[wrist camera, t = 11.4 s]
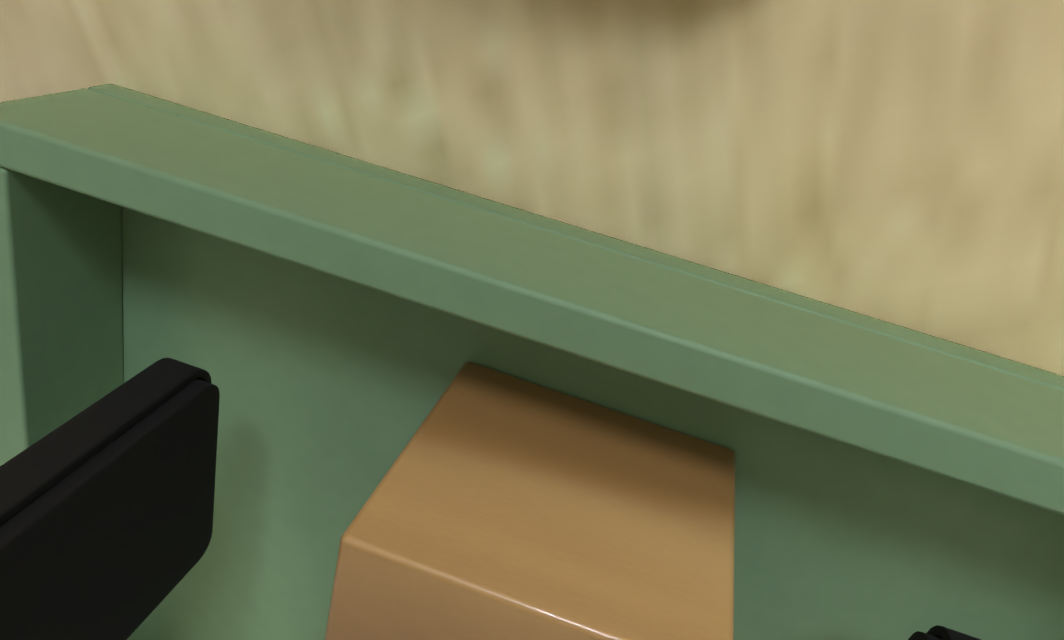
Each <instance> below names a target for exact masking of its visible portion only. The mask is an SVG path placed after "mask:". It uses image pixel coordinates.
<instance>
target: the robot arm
mask: <svg viewBox="0 0 1064 640" xmlns="http://www.w3.org/2000/svg"><path fill="white" fill-rule="evenodd" d="M219 399H220V393H219V389H218V387H217V386H216V385H214V384H212V383H211V376H210V374H209V372H207V371H206V370H204V369H201V368H198V367H195V366H192V365H189V364H187V363H184V362H181V361H178V360H175V359H172V358H162V359H160V360H158V361H156V362H155V363H153V364H152V365H150V366H149V367H147V368H146V369H144V370H143V371H141V372H140V373H138V374H137V375H135V376H134V377H132V378H131V379H129V380H128V381H127V382H125V383H124V384H122V385H121V386H119V387H118V388H116V389H115V390H113V391H112V392H110V393H109V394H107V395H106V396H104V397H103V398H101V399H100V400H98V401H97V402H95V403H94V404H92V405H91V406H89V407H88V408H86V409H85V410H83V411H82V412H80V413H79V414H77V415H76V416H74V417H73V418H71V419H70V420H68V421H67V422H65V423H64V424H62V425H61V426H59V427H58V428H56V429H55V430H54V431H52V432H51V433H49V434H48V435H46V436H45V437H43V438H42V439H40V440H39V441H37V442H36V443H34V444H33V445H31V446H30V447H28V448H27V449H25V450H24V451H22V452H21V453H19V454H18V455H16V456H15V457H13V458H12V459H10V460H9V461H7V462H6V463H4V464H3V465H1V466H0V640H127V639H128V638H129V637H130V636H131V635H132V633H133V632H134V631H135V630H136V629H137V628H138V627H139V626H140V625H141V624H142V623H143V621H144V620H145V619H146V618H147V617H148V616H149V615H150V614H151V613H152V612H153V610H154V609H155V608H156V607H157V606H158V605H159V604H160V603H161V602H162V601H163V600H164V598H165V597H166V596H167V595H168V594H169V593H170V592H171V591H172V590H173V589H174V587H175V586H176V585H177V584H178V583H179V582H180V581H181V580H182V579H183V578H184V577H185V575H186V574H187V573H188V572H189V571H190V570H191V569H192V568H193V567H194V566H195V564H196V563H197V562H198V561H199V560H200V559H201V557H202V556H203V555H204V553H205V551H206V550H207V548H208V545H209V543H210V540H211V537H212V530H213V512H214V493H215V474H216V455H217V437H218V418H219ZM908 640H981V639H978V638H975V637H972V636H969V635H966V634H964V633H961V632H958V631H955V630H952V629H949V628H946V627H943V626H938V625H936V626H934V627H932V628H930V629H929V631H928V632H927V633H924V632H920V631H917V632H915V633H913V634H912V635H911V637H910V638H909V639H908Z"/></svg>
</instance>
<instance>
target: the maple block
mask: <svg viewBox="0 0 1064 640" xmlns="http://www.w3.org/2000/svg"><path fill="white" fill-rule="evenodd" d="M734 550H735V452H734V451H733V450H731V449H728V448H725V447H722V446H719V445H716V444H713V443H710V442H707V441H704V440H702V439H699V438H696V437H693V436H690V435H687V434H684V433H681V432H678V431H675V430H672V429H669V428H666V427H663V426H660V425H657V424H654V423H651V422H648V421H645V420H642V419H639V418H636V417H633V416H630V415H627V414H624V413H621V412H618V411H615V410H612V409H609V408H606V407H603V406H600V405H597V404H594V403H591V402H588V401H585V400H582V399H579V398H576V397H573V396H570V395H567V394H564V393H561V392H558V391H555V390H552V389H549V388H546V387H543V386H540V385H537V384H534V383H531V382H528V381H525V380H522V379H519V378H516V377H514V376H511V375H508V374H505V373H502V372H499V371H496V370H493V369H490V368H487V367H484V366H481V365H478V364H475V363H472V362H466V363H465V364H464V365H463V366H462V368H461V369H460V371H459V372H458V373H457V375H456V376H455V378H454V379H453V380H452V382H451V383H450V385H449V386H448V387H447V389H446V390H445V392H444V393H443V394H442V396H441V397H440V399H439V400H438V402H437V403H436V404H435V406H434V407H433V409H432V410H431V411H430V413H429V414H428V416H427V417H426V418H425V420H424V421H423V423H422V424H421V425H420V427H419V428H418V430H417V431H416V432H415V434H414V435H413V437H412V438H411V439H410V441H409V442H408V444H407V445H406V446H405V448H404V449H403V451H402V452H401V453H400V455H399V456H398V458H397V459H396V460H395V462H394V463H393V465H392V466H391V468H390V469H389V470H388V472H387V473H386V475H385V476H384V477H383V479H382V480H381V482H380V483H379V484H378V486H377V487H376V489H375V490H374V491H373V493H372V494H371V496H370V497H369V498H368V500H367V501H366V503H365V504H364V505H363V507H362V508H361V510H360V511H359V512H358V514H357V515H356V517H355V518H354V519H353V521H352V522H351V524H350V525H349V526H348V528H347V529H346V531H345V532H344V534H343V535H342V536H341V539H340V546H339V552H338V558H337V565H336V571H335V577H334V584H333V590H332V596H331V603H330V609H329V615H328V622H327V628H326V634H325V640H734Z"/></svg>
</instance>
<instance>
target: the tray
mask: <svg viewBox="0 0 1064 640" xmlns="http://www.w3.org/2000/svg"><path fill="white" fill-rule="evenodd" d="M162 358H172V359H175V360H178V361H181V362H184V363H187V364H189V365H192V366H195V367H198V368H201V369H204V370H206V371H207V372H209V374H210V376H211V383H212V384H214V385H216V386H217V387H218V389H219V393H220V399H219V418H218V437H217V455H216V474H215V493H214V512H213V530H212V537H211V540H210V543H209V545H208V548H207V550H206V551H205V553H204V555H203V556H202V557H201V559H200V560H199V561H198V562H197V563H196V564H195V566H194V567H193V568H192V569H191V570H190V571H189V572H188V573H187V574H186V575H185V577H184V578H183V579H182V580H181V581H180V582H179V583H178V584H177V585H176V586H175V587H174V589H173V590H172V591H171V592H170V593H169V594H168V595H167V596H166V597H165V598H164V600H163V601H162V602H161V603H160V604H159V605H158V606H157V607H156V608H155V609H154V610H153V612H152V613H151V614H150V615H149V616H148V617H147V618H146V619H145V620H144V621H143V623H142V624H141V625H140V626H139V627H138V628H137V629H136V630H135V631H134V632H133V633H132V635H131V636H130V637H129V638H128V639H127V640H325V634H326V628H327V622H328V615H329V609H330V603H331V596H332V590H333V584H334V577H335V571H336V565H337V558H338V552H339V546H340V539H341V536H342V535H343V534H344V532H345V531H346V529H347V528H348V526H349V525H350V524H351V522H352V521H353V519H354V518H355V517H356V515H357V514H358V512H359V511H360V510H361V508H362V507H363V505H364V504H365V503H366V501H367V500H368V498H369V497H370V496H371V494H372V493H373V491H374V490H375V489H376V487H377V486H378V484H379V483H380V482H381V480H382V479H383V477H384V476H385V475H386V473H387V472H388V470H389V469H390V468H391V466H392V465H393V463H394V462H395V460H396V459H397V458H398V456H399V455H400V453H401V452H402V451H403V449H404V448H405V446H406V445H407V444H408V442H409V441H410V439H411V438H412V437H413V435H414V434H415V432H416V431H417V430H418V428H419V427H420V425H421V424H422V423H423V421H424V420H425V418H426V417H427V416H428V414H429V413H430V411H431V410H432V409H433V407H434V406H435V404H436V403H437V402H438V400H439V399H440V397H441V396H442V394H443V393H444V392H445V390H446V389H447V387H448V386H449V385H450V383H451V382H452V380H453V379H454V378H455V376H456V375H457V373H458V372H459V371H460V369H461V368H462V366H463V365H464V364H465V363H466V362H472V363H475V364H478V365H481V366H484V367H487V368H490V369H493V370H496V371H499V372H502V373H505V374H508V375H511V376H514V377H516V378H519V379H522V380H525V381H528V382H531V383H534V384H537V385H540V386H543V387H546V388H549V389H552V390H555V391H558V392H561V393H564V394H567V395H570V396H573V397H576V398H579V399H582V400H585V401H588V402H591V403H594V404H597V405H600V406H603V407H606V408H609V409H612V410H615V411H618V412H621V413H624V414H627V415H630V416H633V417H636V418H639V419H642V420H645V421H648V422H651V423H654V424H657V425H660V426H663V427H666V428H669V429H672V430H675V431H678V432H681V433H684V434H687V435H690V436H693V437H696V438H699V439H702V440H704V441H707V442H710V443H713V444H716V445H719V446H722V447H725V448H728V449H731V450H733V451H734V452H735V550H734V640H908V639H909V638H910V637H911V635H912V634H913V633H915V632H917V631H920V632H924V633H927V632H928V631H929V629H930V628H932V627H934V626H936V625H938V626H943V627H946V628H949V629H952V630H955V631H958V632H961V633H964V634H966V635H969V636H972V637H975V638H978V639H981V640H1064V376H1061V375H1057V374H1054V373H1051V372H1048V371H1044V370H1041V369H1038V368H1035V367H1031V366H1028V365H1025V364H1022V363H1018V362H1015V361H1012V360H1009V359H1005V358H1002V357H999V356H996V355H992V354H989V353H986V352H983V351H979V350H976V349H973V348H970V347H966V346H963V345H960V344H957V343H953V342H950V341H947V340H944V339H940V338H937V337H934V336H930V335H927V334H924V333H921V332H917V331H914V330H911V329H908V328H904V327H901V326H898V325H895V324H891V323H888V322H885V321H882V320H878V319H875V318H872V317H869V316H865V315H862V314H859V313H856V312H852V311H849V310H846V309H843V308H839V307H836V306H833V305H830V304H826V303H823V302H820V301H817V300H813V299H810V298H807V297H804V296H800V295H797V294H794V293H791V292H787V291H784V290H781V289H778V288H774V287H771V286H768V285H764V284H761V283H758V282H755V281H751V280H748V279H745V278H742V277H738V276H735V275H732V274H729V273H725V272H722V271H719V270H716V269H712V268H709V267H706V266H703V265H699V264H696V263H693V262H690V261H686V260H683V259H680V258H677V257H673V256H670V255H667V254H664V253H660V252H657V251H654V250H651V249H647V248H644V247H641V246H638V245H634V244H631V243H628V242H625V241H621V240H618V239H615V238H612V237H608V236H605V235H602V234H598V233H595V232H592V231H589V230H585V229H582V228H579V227H576V226H572V225H569V224H566V223H563V222H559V221H556V220H553V219H550V218H546V217H543V216H540V215H537V214H533V213H530V212H527V211H524V210H520V209H517V208H514V207H511V206H507V205H504V204H501V203H498V202H494V201H491V200H488V199H485V198H481V197H478V196H475V195H472V194H468V193H465V192H462V191H459V190H455V189H452V188H449V187H445V186H442V185H439V184H436V183H432V182H429V181H426V180H423V179H419V178H416V177H413V176H410V175H406V174H403V173H400V172H397V171H393V170H390V169H387V168H384V167H380V166H377V165H374V164H371V163H367V162H364V161H361V160H358V159H354V158H351V157H348V156H345V155H341V154H338V153H335V152H332V151H328V150H325V149H322V148H319V147H315V146H312V145H309V144H306V143H302V142H299V141H296V140H293V139H289V138H286V137H283V136H279V135H276V134H273V133H270V132H266V131H263V130H260V129H257V128H253V127H250V126H247V125H244V124H240V123H237V122H234V121H231V120H227V119H224V118H221V117H218V116H214V115H211V114H208V113H205V112H201V111H198V110H195V109H192V108H188V107H185V106H182V105H179V104H175V103H172V102H169V101H166V100H162V99H159V98H156V97H153V96H149V95H146V94H143V93H140V92H136V91H133V90H130V89H127V88H123V87H120V86H117V85H113V84H106V85H100V86H94V87H89V88H88V89H79V90H73V91H67V92H61V93H55V94H49V95H43V96H37V97H31V98H25V99H20V100H14V101H8V102H2V103H0V466H1V465H3V464H4V463H6V462H7V461H9V460H10V459H12V458H13V457H15V456H16V455H18V454H19V453H21V452H22V451H24V450H25V449H27V448H28V447H30V446H31V445H33V444H34V443H36V442H37V441H39V440H40V439H42V438H43V437H45V436H46V435H48V434H49V433H51V432H52V431H54V430H55V429H56V428H58V427H59V426H61V425H62V424H64V423H65V422H67V421H68V420H70V419H71V418H73V417H74V416H76V415H77V414H79V413H80V412H82V411H83V410H85V409H86V408H88V407H89V406H91V405H92V404H94V403H95V402H97V401H98V400H100V399H101V398H103V397H104V396H106V395H107V394H109V393H110V392H112V391H113V390H115V389H116V388H118V387H119V386H121V385H122V384H124V383H125V382H127V381H128V380H129V379H131V378H132V377H134V376H135V375H137V374H138V373H140V372H141V371H143V370H144V369H146V368H147V367H149V366H150V365H152V364H153V363H155V362H156V361H158V360H160V359H162Z"/></svg>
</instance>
